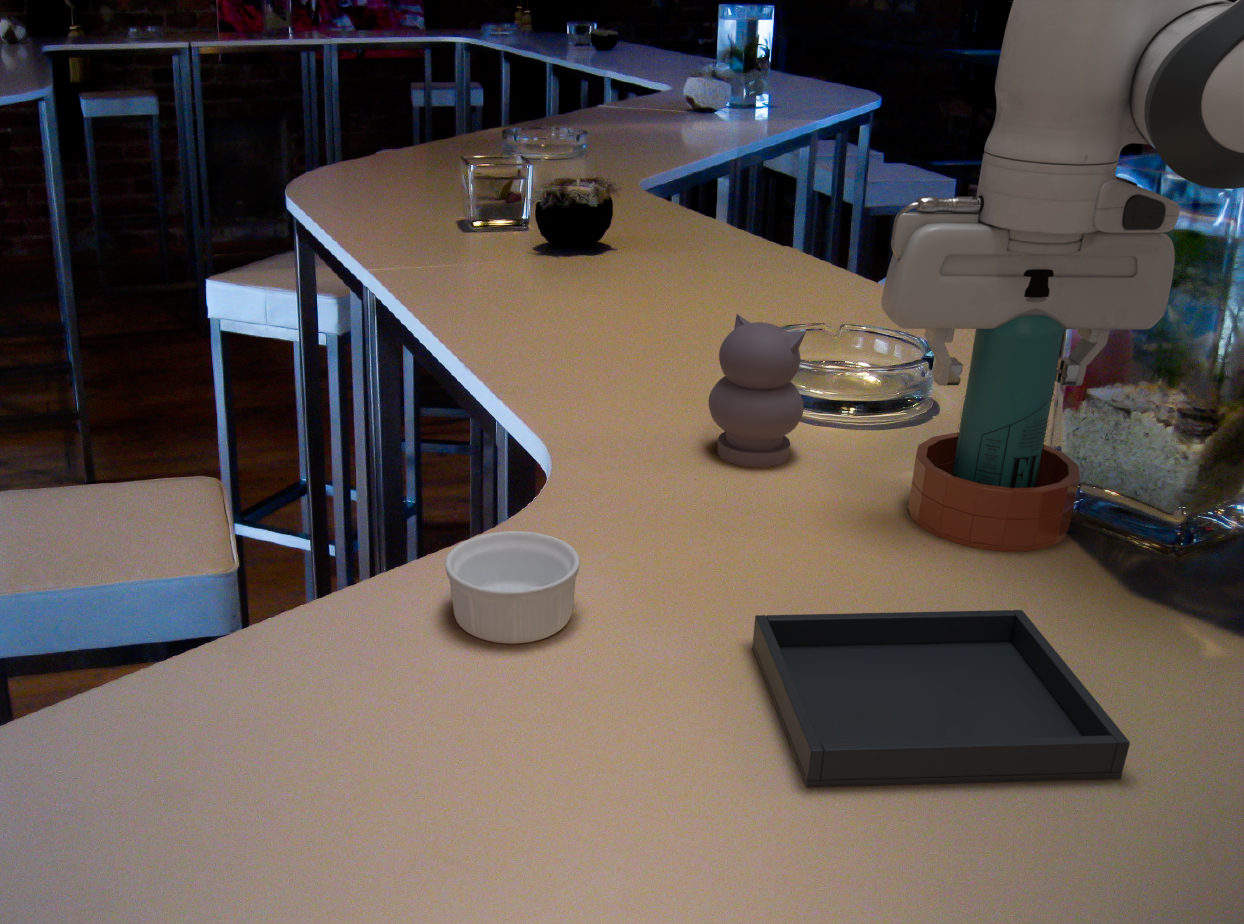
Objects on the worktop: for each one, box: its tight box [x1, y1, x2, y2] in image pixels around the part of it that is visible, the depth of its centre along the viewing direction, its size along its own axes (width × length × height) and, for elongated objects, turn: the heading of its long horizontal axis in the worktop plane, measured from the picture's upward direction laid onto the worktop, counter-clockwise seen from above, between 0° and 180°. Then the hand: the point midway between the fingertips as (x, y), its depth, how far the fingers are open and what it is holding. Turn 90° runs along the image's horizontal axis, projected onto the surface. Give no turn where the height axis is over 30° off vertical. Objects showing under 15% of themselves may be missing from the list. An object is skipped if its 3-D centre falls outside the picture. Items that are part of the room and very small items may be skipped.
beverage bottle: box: [951, 269, 1066, 488], centre depth 92 cm, size 6×7×20 cm
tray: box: [751, 609, 1131, 789], centre depth 72 cm, size 17×14×2 cm
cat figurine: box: [708, 313, 807, 468], centre depth 106 cm, size 8×8×12 cm
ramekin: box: [444, 530, 581, 645], centre depth 81 cm, size 9×9×4 cm
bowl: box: [907, 432, 1081, 553], centre depth 95 cm, size 12×12×5 cm
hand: (1006, 383), depth 92 cm, fingers open, 8 cm apart
